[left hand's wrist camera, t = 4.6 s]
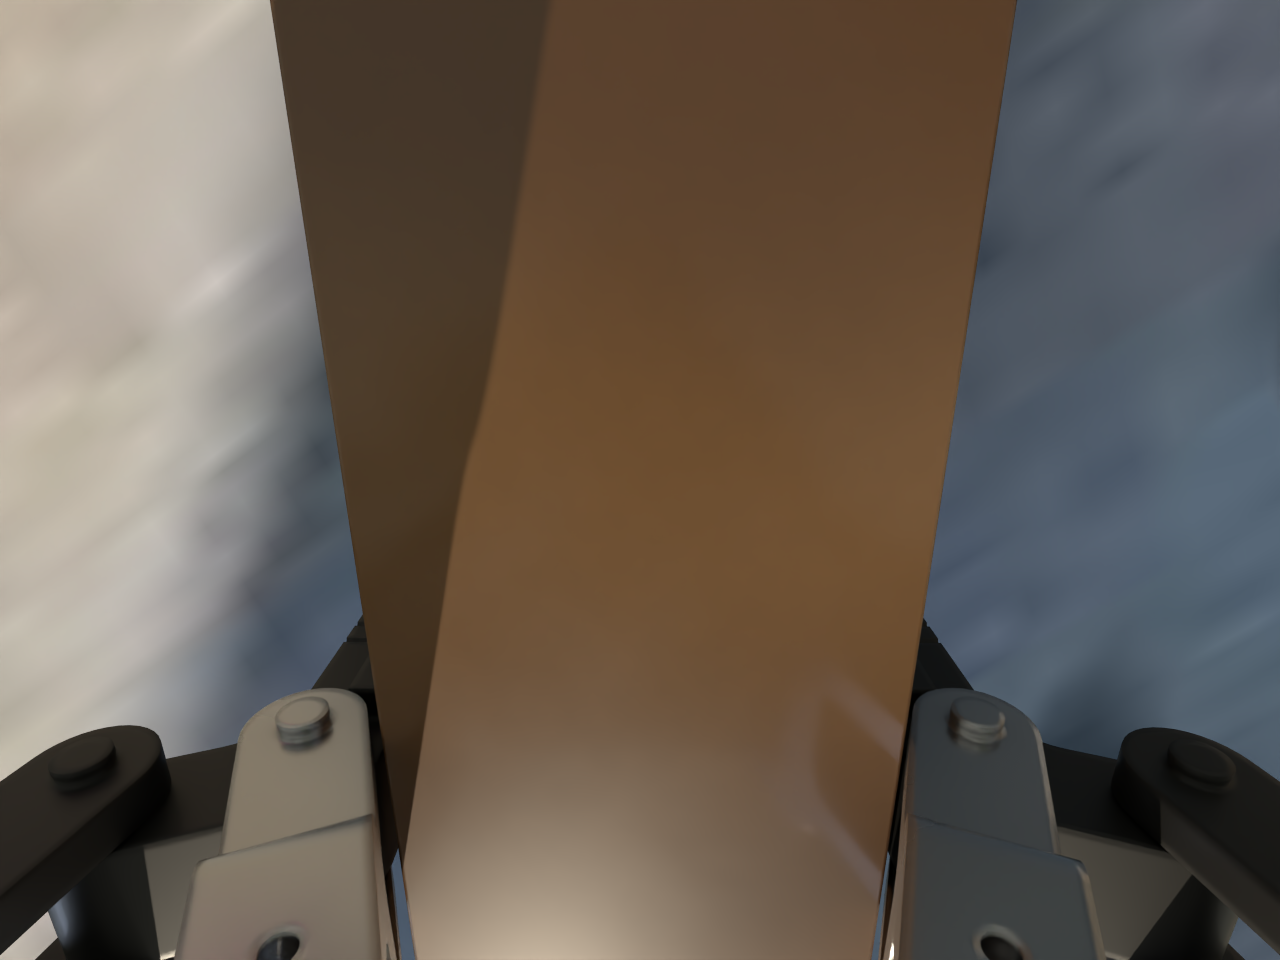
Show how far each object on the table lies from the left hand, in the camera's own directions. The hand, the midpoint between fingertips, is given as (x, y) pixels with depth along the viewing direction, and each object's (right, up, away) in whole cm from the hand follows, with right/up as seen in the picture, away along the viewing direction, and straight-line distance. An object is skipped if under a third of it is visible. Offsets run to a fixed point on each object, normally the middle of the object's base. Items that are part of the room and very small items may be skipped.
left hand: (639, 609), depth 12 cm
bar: (0, +8, +1) cm, 8 cm away
